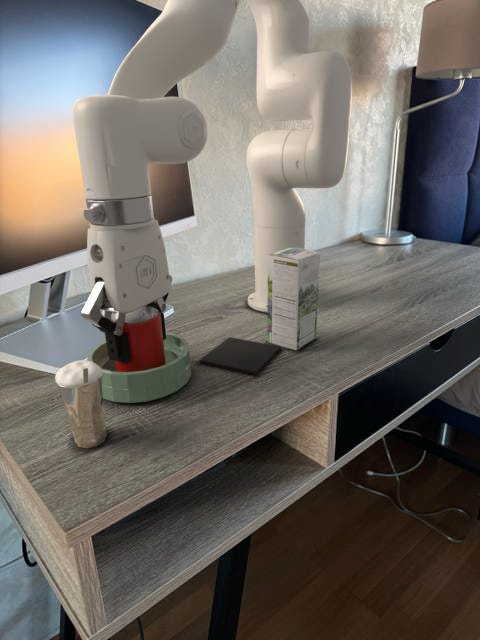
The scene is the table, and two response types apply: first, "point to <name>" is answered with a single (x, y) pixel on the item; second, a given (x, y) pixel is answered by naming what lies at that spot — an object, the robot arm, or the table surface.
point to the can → (143, 340)
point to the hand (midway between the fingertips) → (138, 348)
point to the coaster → (241, 355)
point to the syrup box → (292, 297)
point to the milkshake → (83, 401)
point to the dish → (145, 373)
